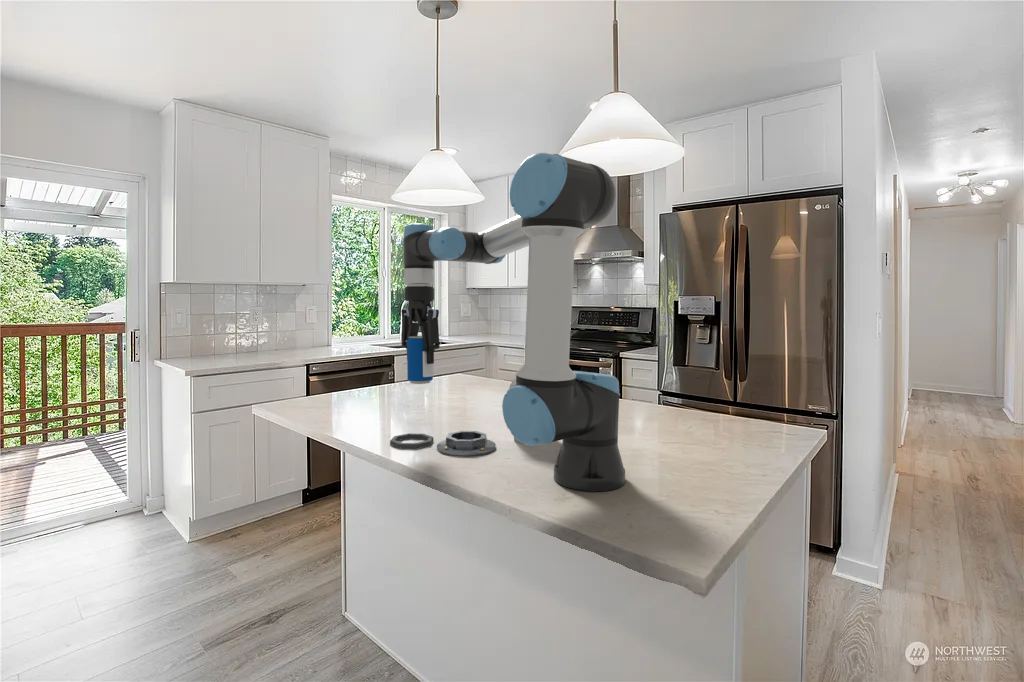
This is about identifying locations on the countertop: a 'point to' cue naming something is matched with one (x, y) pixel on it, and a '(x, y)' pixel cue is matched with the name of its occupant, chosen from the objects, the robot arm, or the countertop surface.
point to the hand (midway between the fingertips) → (420, 374)
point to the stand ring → (400, 445)
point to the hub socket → (466, 444)
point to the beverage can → (416, 361)
